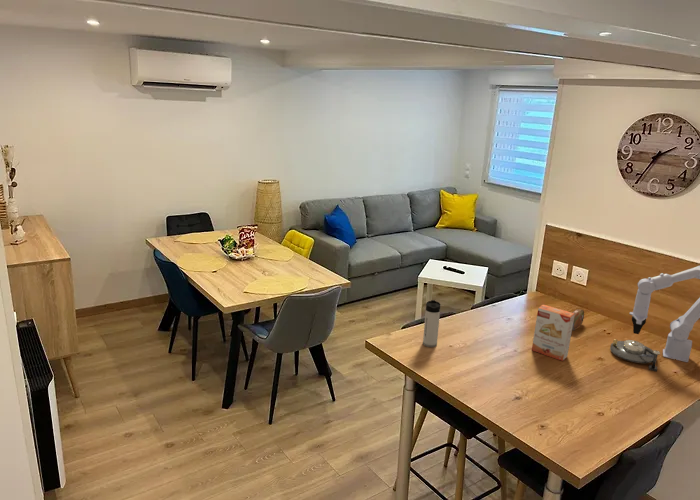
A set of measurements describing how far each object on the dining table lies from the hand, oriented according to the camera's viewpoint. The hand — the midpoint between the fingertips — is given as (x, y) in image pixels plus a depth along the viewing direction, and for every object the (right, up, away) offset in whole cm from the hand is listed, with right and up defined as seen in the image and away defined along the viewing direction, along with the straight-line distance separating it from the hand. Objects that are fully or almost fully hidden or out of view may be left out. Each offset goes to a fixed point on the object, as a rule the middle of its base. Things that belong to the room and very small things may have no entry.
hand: (636, 333), depth 238 cm
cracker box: (-42, -8, -7) cm, 43 cm away
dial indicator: (-2, -12, -15) cm, 19 cm away
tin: (-19, -1, +22) cm, 29 cm away
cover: (-5, -7, -6) cm, 10 cm away
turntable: (-5, -8, -6) cm, 11 cm away
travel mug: (-94, -5, -2) cm, 94 cm away
